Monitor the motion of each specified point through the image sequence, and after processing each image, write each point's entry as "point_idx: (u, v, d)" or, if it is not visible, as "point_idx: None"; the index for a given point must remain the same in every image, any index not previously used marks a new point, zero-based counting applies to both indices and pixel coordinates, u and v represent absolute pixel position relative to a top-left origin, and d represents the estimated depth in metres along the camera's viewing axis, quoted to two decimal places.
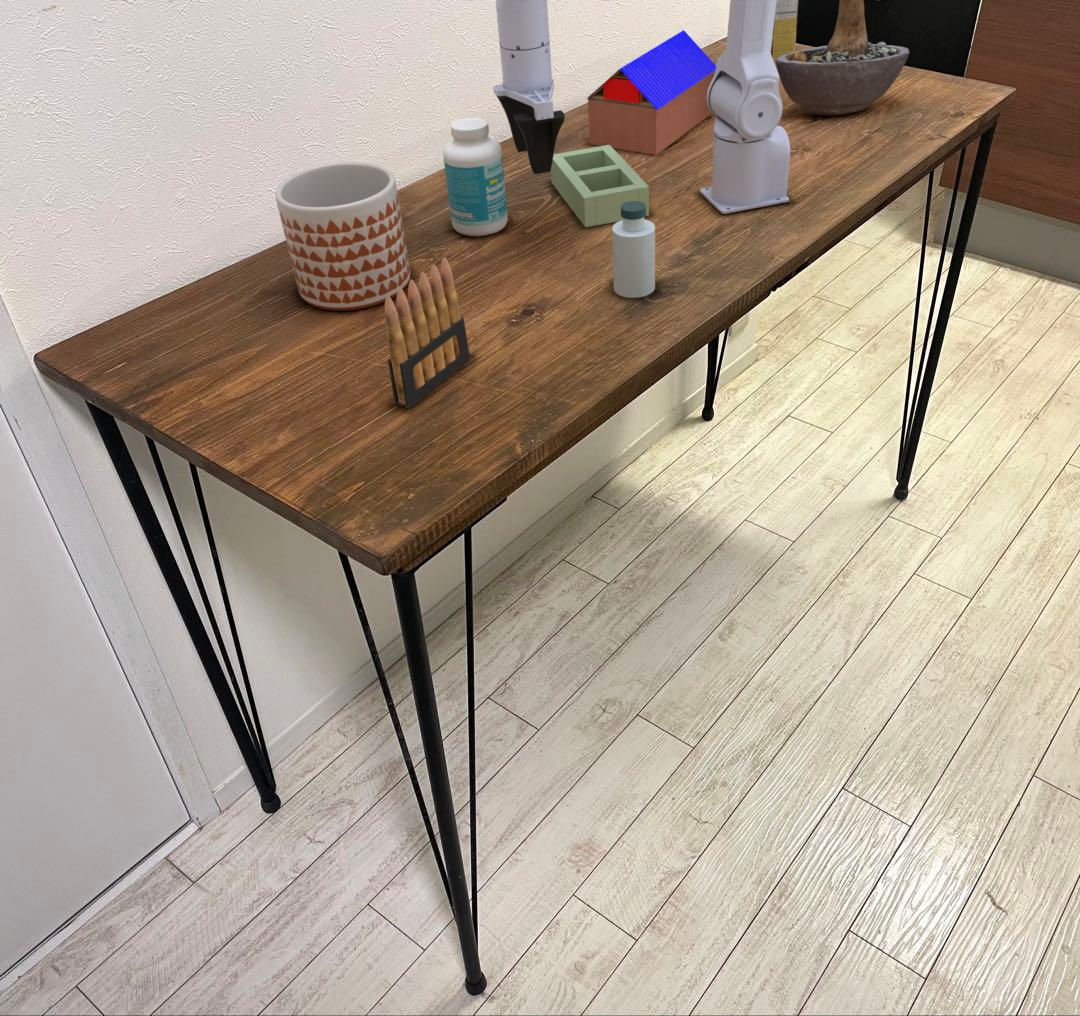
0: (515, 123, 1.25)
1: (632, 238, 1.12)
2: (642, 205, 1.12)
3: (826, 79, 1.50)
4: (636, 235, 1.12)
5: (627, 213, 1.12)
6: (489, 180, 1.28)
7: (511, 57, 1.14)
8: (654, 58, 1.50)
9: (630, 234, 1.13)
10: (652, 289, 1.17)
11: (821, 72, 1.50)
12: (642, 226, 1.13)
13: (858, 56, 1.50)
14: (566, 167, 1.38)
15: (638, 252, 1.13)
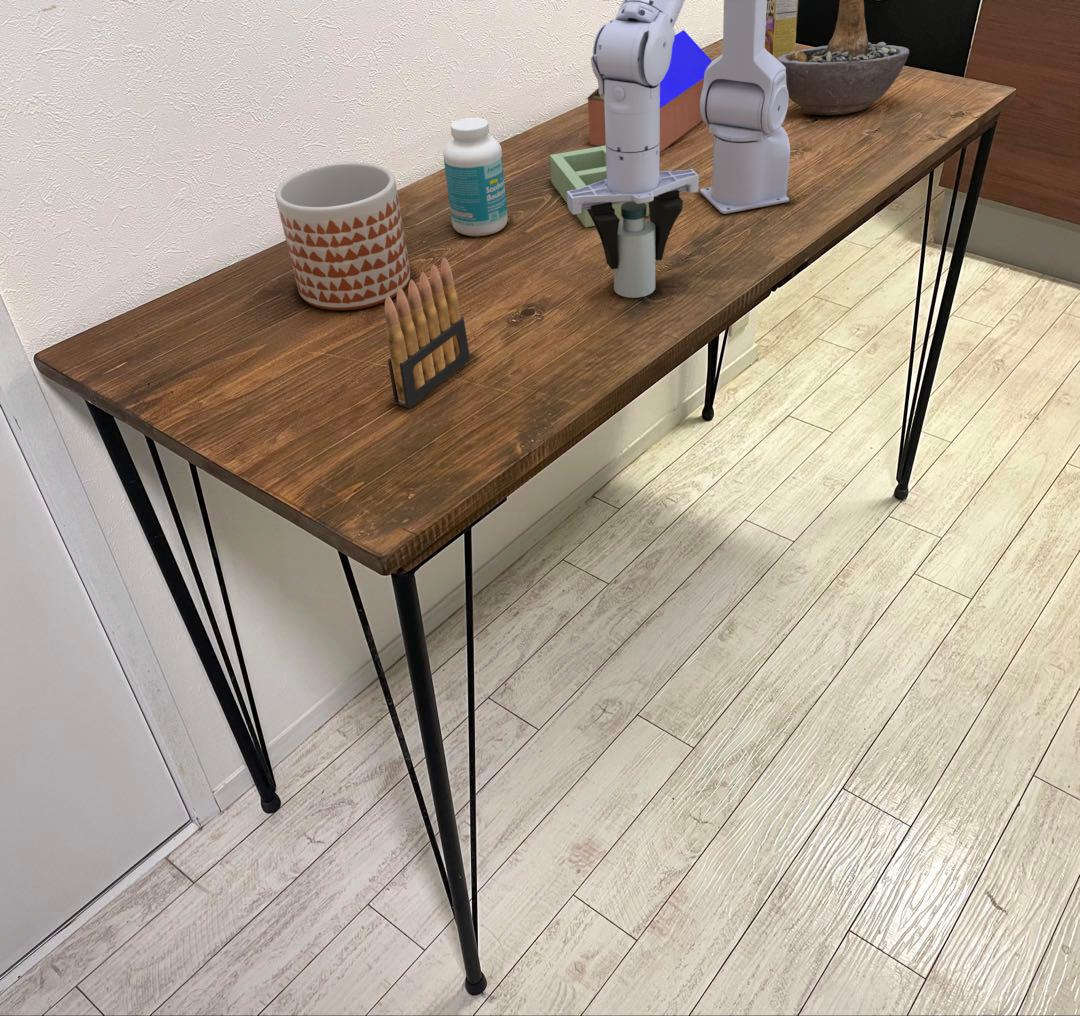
0: None
1: (633, 238, 1.12)
2: (642, 205, 1.12)
3: (826, 79, 1.50)
4: (637, 235, 1.12)
5: (627, 213, 1.12)
6: (489, 180, 1.28)
7: (655, 154, 1.07)
8: None
9: (630, 234, 1.13)
10: (652, 289, 1.17)
11: (821, 72, 1.50)
12: (642, 226, 1.13)
13: (858, 56, 1.50)
14: (566, 167, 1.38)
15: (638, 252, 1.13)
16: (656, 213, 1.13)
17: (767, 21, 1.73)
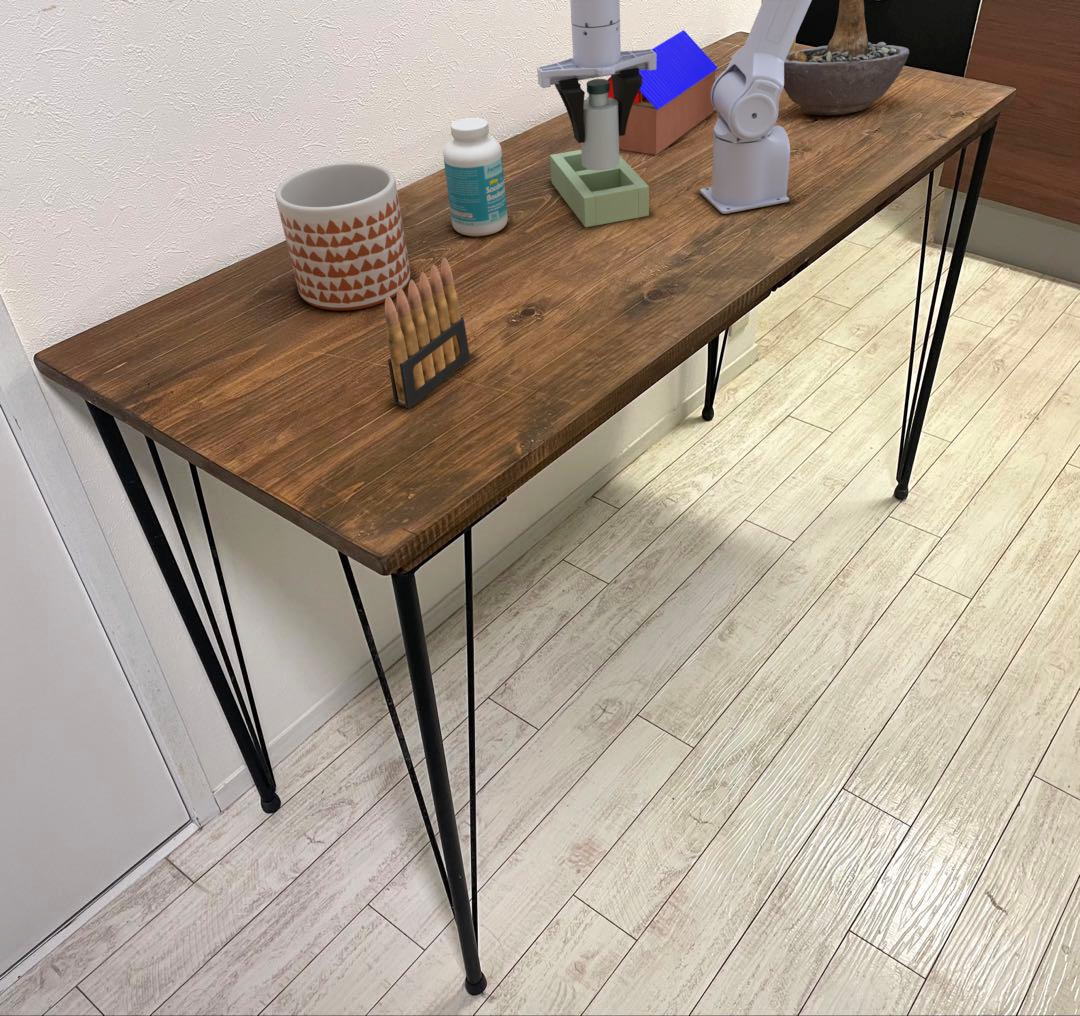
0: None
1: (597, 112, 1.24)
2: (606, 81, 1.24)
3: (826, 79, 1.50)
4: (601, 109, 1.24)
5: (592, 88, 1.23)
6: (489, 180, 1.28)
7: (616, 30, 1.19)
8: None
9: (595, 108, 1.24)
10: (616, 163, 1.29)
11: (821, 72, 1.50)
12: (606, 101, 1.25)
13: (858, 56, 1.50)
14: (566, 167, 1.38)
15: (603, 125, 1.25)
16: (618, 90, 1.25)
17: None
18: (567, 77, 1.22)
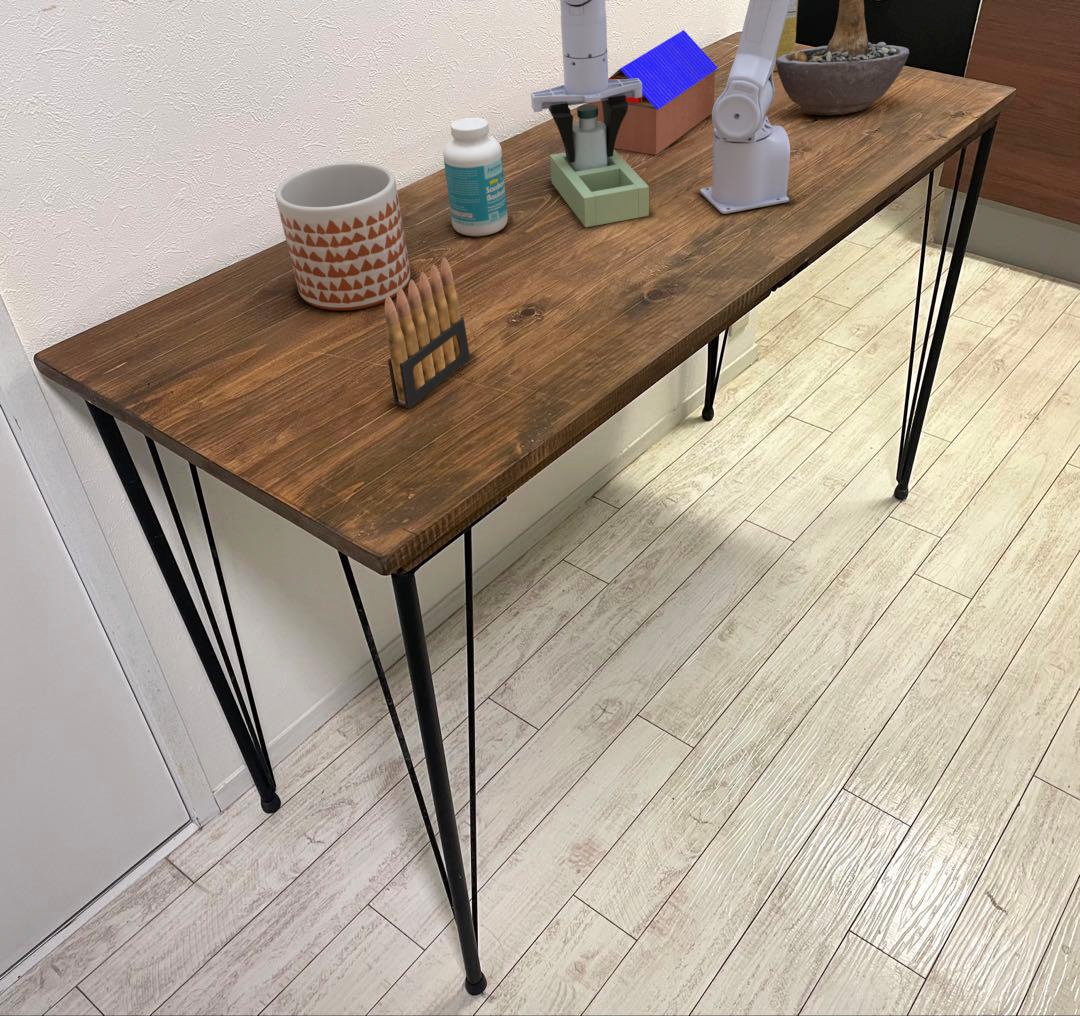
0: None
1: (585, 135, 1.35)
2: (595, 107, 1.35)
3: (826, 79, 1.50)
4: (589, 132, 1.35)
5: (581, 113, 1.34)
6: (489, 180, 1.28)
7: (602, 61, 1.29)
8: (654, 58, 1.50)
9: (584, 131, 1.35)
10: None
11: (821, 72, 1.50)
12: (594, 125, 1.35)
13: (858, 56, 1.50)
14: (566, 167, 1.38)
15: (590, 147, 1.36)
16: (607, 115, 1.35)
17: None
18: (558, 102, 1.33)
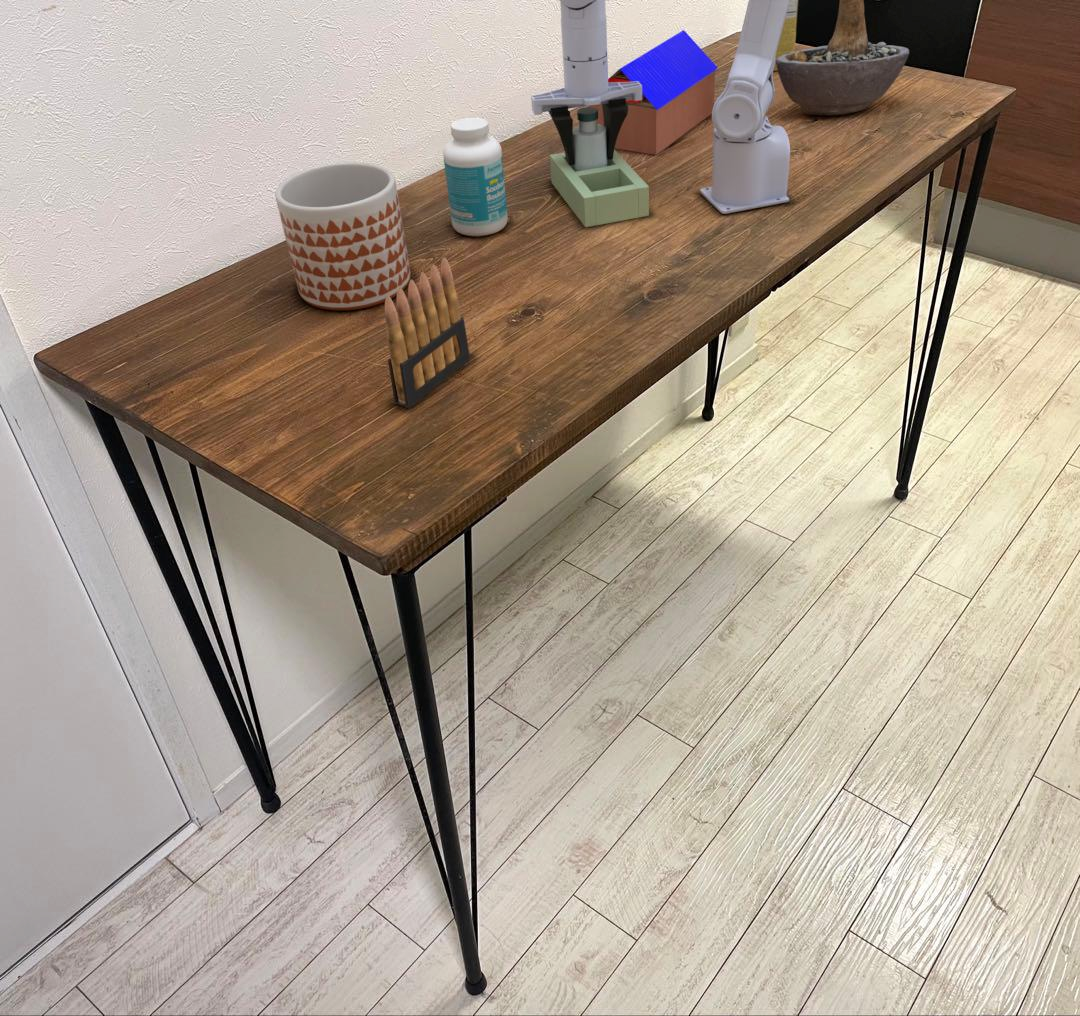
0: (571, 139, 1.36)
1: (585, 138, 1.35)
2: (595, 110, 1.35)
3: (826, 79, 1.50)
4: (589, 135, 1.35)
5: (581, 116, 1.34)
6: (489, 180, 1.28)
7: (602, 64, 1.30)
8: (654, 58, 1.50)
9: (584, 134, 1.35)
10: None
11: (821, 72, 1.50)
12: (594, 128, 1.36)
13: (858, 56, 1.50)
14: (566, 167, 1.38)
15: (590, 150, 1.36)
16: (607, 118, 1.36)
17: None
18: (558, 105, 1.33)
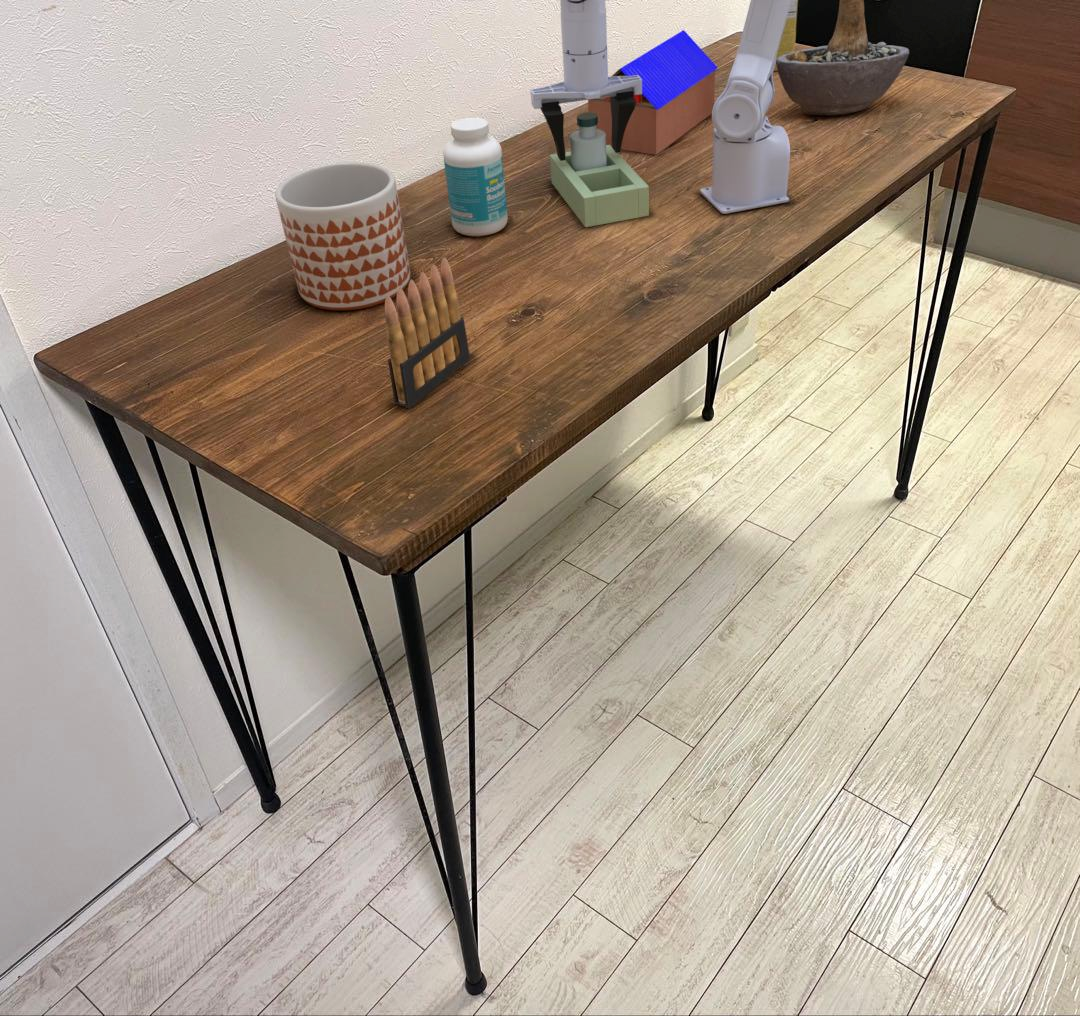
0: None
1: (585, 143, 1.35)
2: (594, 115, 1.35)
3: (826, 79, 1.50)
4: (588, 140, 1.35)
5: (581, 121, 1.35)
6: (489, 180, 1.28)
7: (602, 58, 1.29)
8: (654, 58, 1.50)
9: (583, 139, 1.36)
10: None
11: (821, 72, 1.50)
12: (594, 133, 1.36)
13: (858, 56, 1.50)
14: (566, 167, 1.38)
15: (590, 155, 1.36)
16: (615, 111, 1.35)
17: None
18: (549, 100, 1.33)
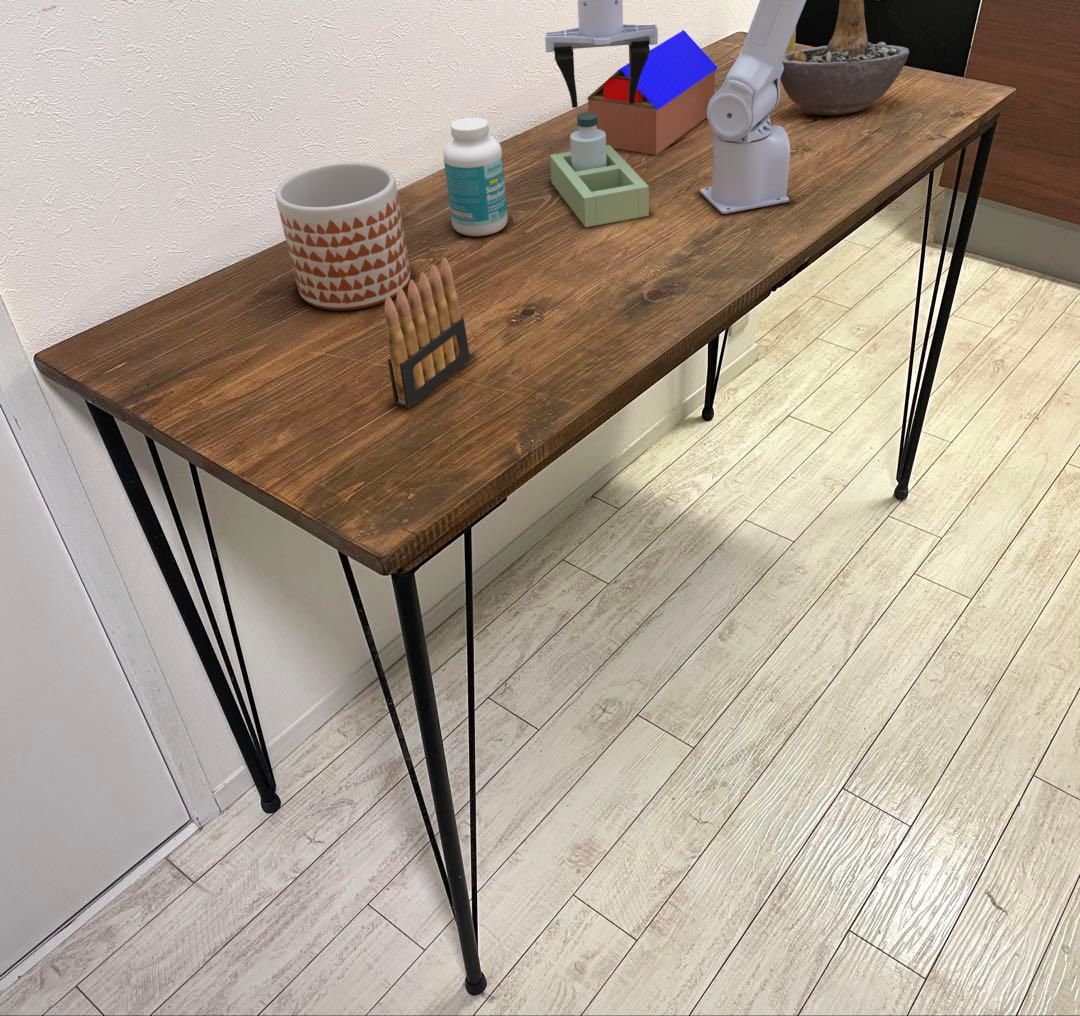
0: (574, 80, 1.35)
1: (585, 143, 1.35)
2: (594, 115, 1.35)
3: (826, 79, 1.50)
4: (588, 140, 1.35)
5: (581, 121, 1.35)
6: (489, 180, 1.28)
7: (614, 3, 1.28)
8: (654, 58, 1.50)
9: (583, 139, 1.36)
10: None
11: (821, 72, 1.50)
12: (594, 133, 1.36)
13: (858, 56, 1.50)
14: (566, 167, 1.38)
15: (590, 155, 1.36)
16: (630, 60, 1.34)
17: None
18: (562, 45, 1.33)
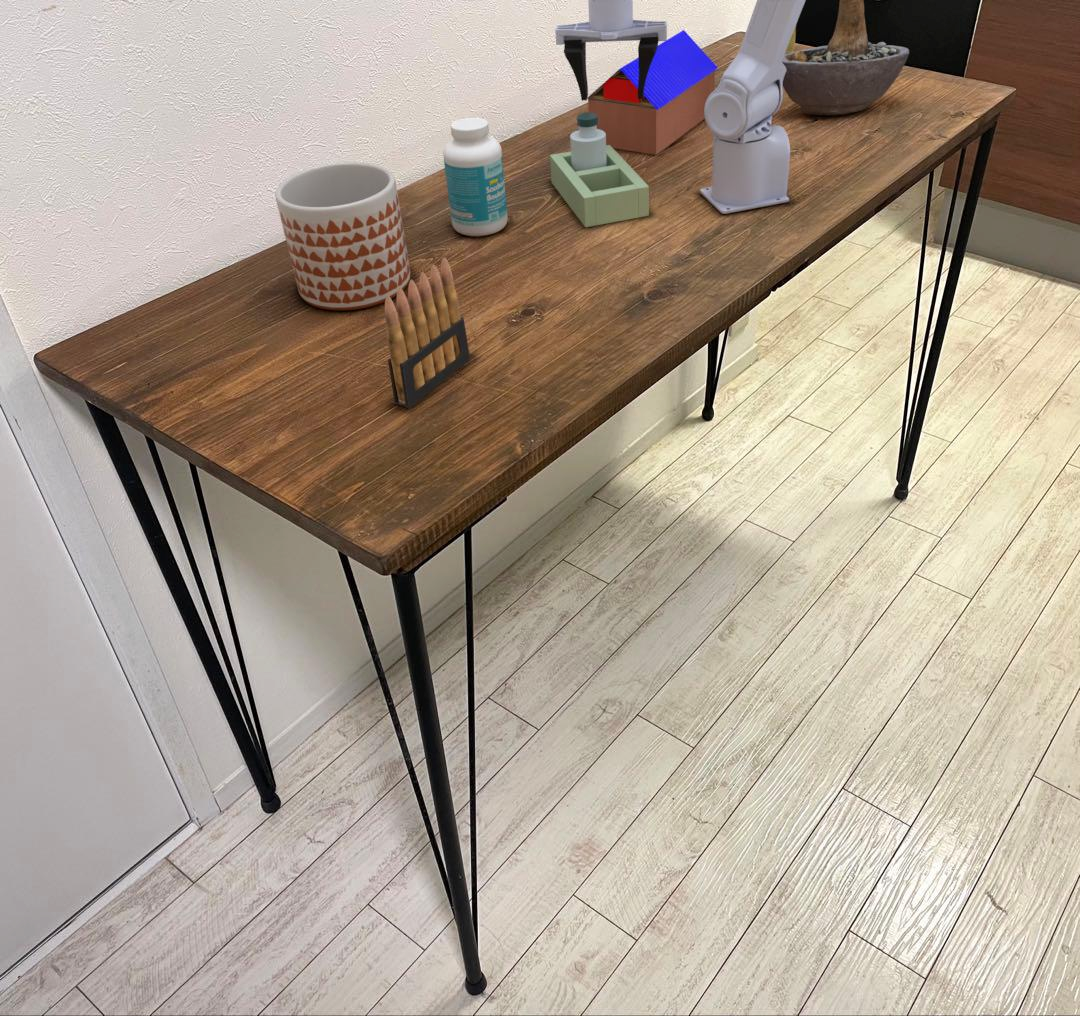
0: (583, 73, 1.37)
1: (585, 143, 1.35)
2: (594, 115, 1.35)
3: (826, 79, 1.50)
4: (588, 140, 1.35)
5: (581, 121, 1.35)
6: (489, 180, 1.28)
7: None
8: (654, 58, 1.50)
9: (583, 139, 1.36)
10: None
11: (821, 72, 1.50)
12: (594, 133, 1.36)
13: (858, 56, 1.50)
14: (566, 167, 1.38)
15: (590, 155, 1.36)
16: None
17: None
18: (572, 38, 1.35)
